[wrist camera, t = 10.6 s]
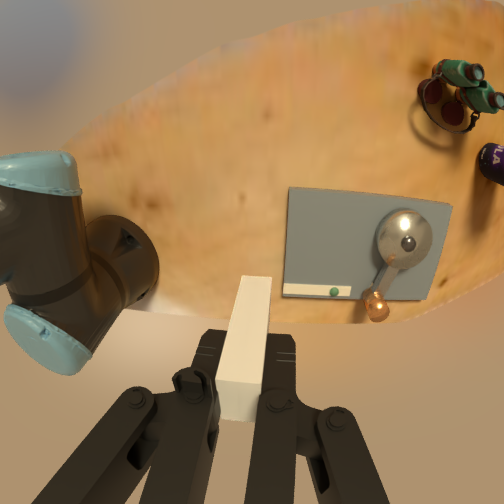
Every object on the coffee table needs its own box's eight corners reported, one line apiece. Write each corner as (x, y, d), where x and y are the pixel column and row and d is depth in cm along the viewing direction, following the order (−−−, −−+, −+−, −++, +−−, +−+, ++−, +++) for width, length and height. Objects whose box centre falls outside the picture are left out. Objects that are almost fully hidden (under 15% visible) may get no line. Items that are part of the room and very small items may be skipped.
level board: (282, 290, 43) (282, 298, 42) (289, 186, 36) (289, 190, 34) (422, 294, 41) (427, 301, 39) (447, 203, 34) (454, 207, 32)
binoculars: (436, 105, 21) (474, 44, 16) (402, 100, 30) (435, 51, 24) (485, 161, 22) (521, 102, 17) (446, 142, 31) (477, 94, 26)
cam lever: (389, 199, 34) (403, 211, 29) (434, 219, 34) (450, 233, 29) (344, 294, 41) (349, 316, 36) (387, 306, 41) (396, 327, 36)
